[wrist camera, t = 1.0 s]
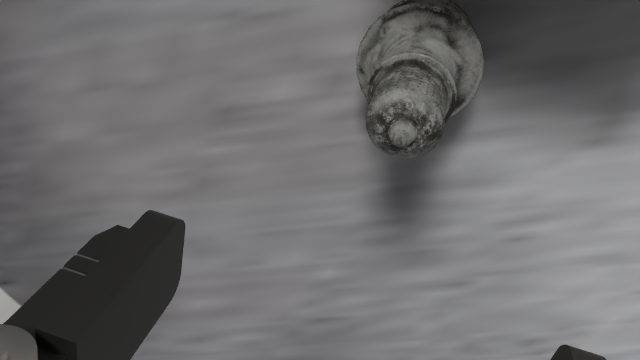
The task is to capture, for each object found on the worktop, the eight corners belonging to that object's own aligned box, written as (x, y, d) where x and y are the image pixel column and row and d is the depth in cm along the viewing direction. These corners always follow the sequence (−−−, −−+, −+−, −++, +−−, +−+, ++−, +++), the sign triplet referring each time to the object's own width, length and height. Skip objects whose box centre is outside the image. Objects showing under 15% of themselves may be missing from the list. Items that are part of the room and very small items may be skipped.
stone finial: (393, -30, 27) (348, 27, 17) (503, 15, 27) (526, 101, 16) (351, 75, 30) (292, 178, 20) (450, 116, 30) (441, 242, 20)
